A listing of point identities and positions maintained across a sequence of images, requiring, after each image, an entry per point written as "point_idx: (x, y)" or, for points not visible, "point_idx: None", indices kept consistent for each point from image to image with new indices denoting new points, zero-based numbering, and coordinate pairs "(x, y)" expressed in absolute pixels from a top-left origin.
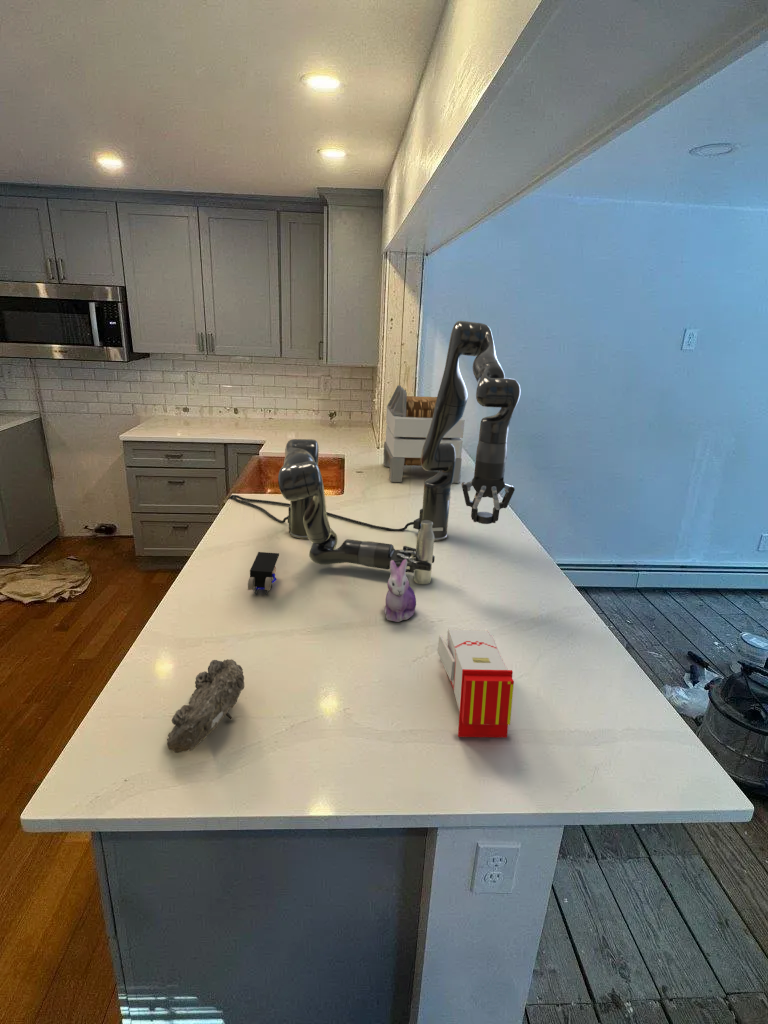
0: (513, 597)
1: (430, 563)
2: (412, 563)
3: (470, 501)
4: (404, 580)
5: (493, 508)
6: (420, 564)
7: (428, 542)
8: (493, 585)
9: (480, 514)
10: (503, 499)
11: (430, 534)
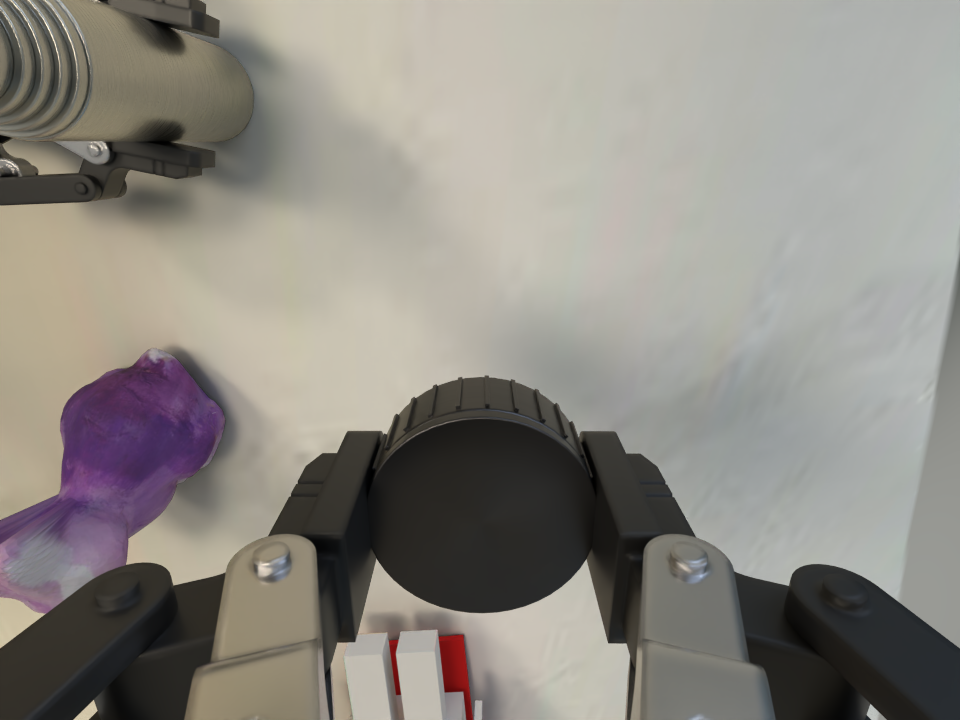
0: (663, 220)
1: (192, 154)
2: (81, 189)
3: (170, 712)
4: None
5: (615, 568)
6: (135, 162)
7: (73, 136)
8: (590, 95)
9: (419, 533)
10: (876, 699)
11: (32, 110)
